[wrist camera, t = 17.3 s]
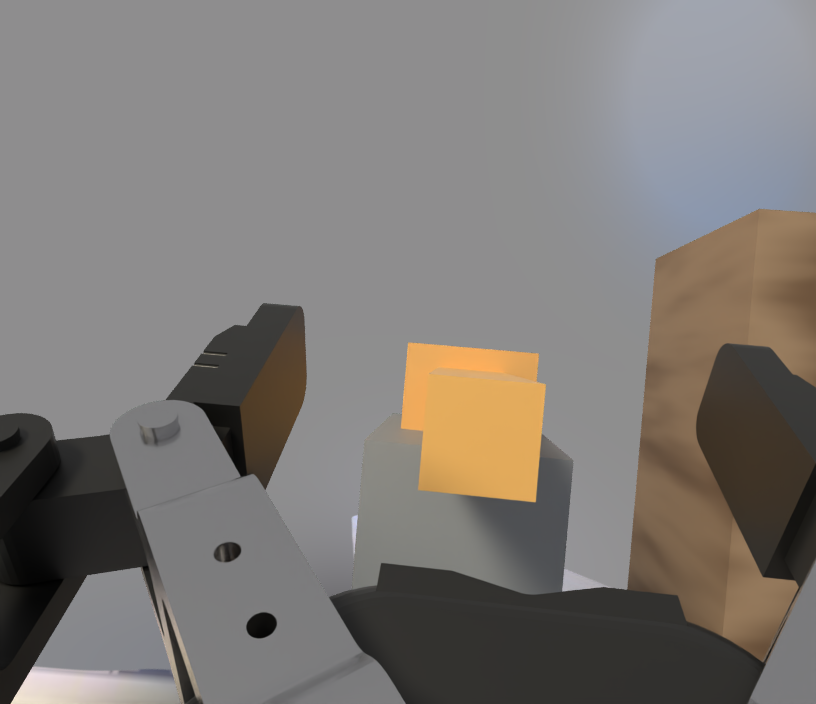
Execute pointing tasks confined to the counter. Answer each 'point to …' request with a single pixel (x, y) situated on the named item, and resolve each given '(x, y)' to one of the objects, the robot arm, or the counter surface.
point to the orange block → (475, 419)
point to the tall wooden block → (679, 403)
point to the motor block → (458, 519)
